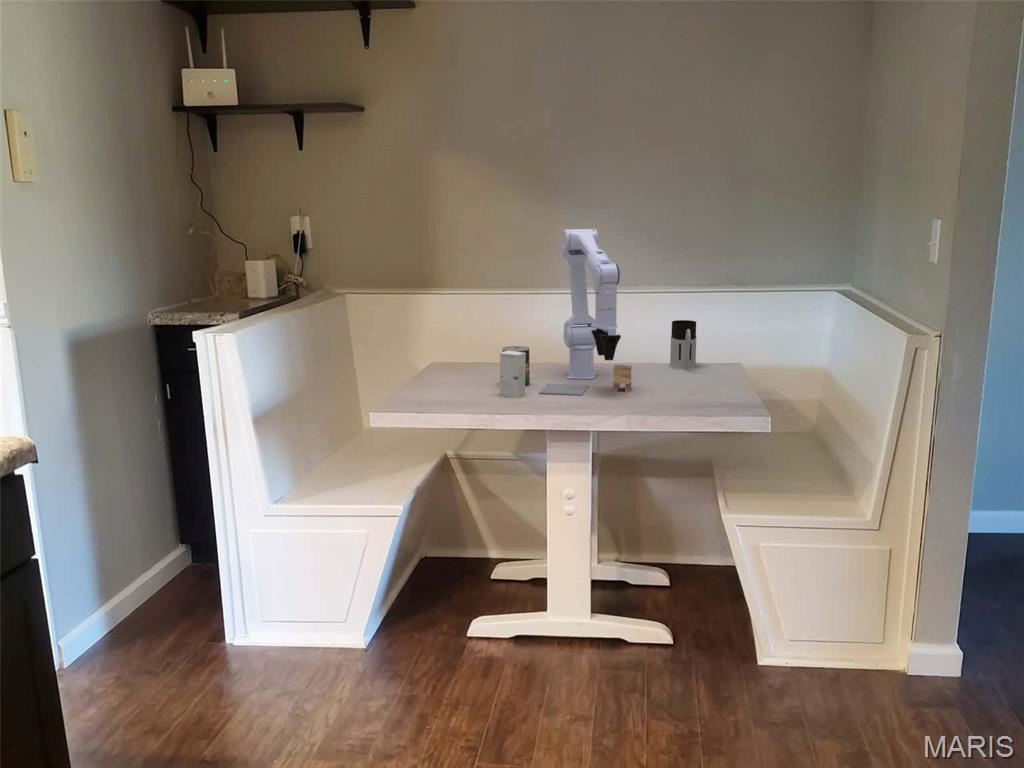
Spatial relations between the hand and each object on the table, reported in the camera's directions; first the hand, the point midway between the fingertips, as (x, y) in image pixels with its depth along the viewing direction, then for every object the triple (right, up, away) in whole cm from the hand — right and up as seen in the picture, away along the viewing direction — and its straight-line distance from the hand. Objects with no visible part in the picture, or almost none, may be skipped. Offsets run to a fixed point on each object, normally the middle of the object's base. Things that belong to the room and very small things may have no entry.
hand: (605, 357), depth 235 cm
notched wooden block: (+5, -9, +5) cm, 12 cm away
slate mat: (-11, -9, +5) cm, 15 cm away
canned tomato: (-25, -8, +13) cm, 29 cm away
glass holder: (+28, -3, +31) cm, 42 cm away
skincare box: (-26, -11, +1) cm, 28 cm away
